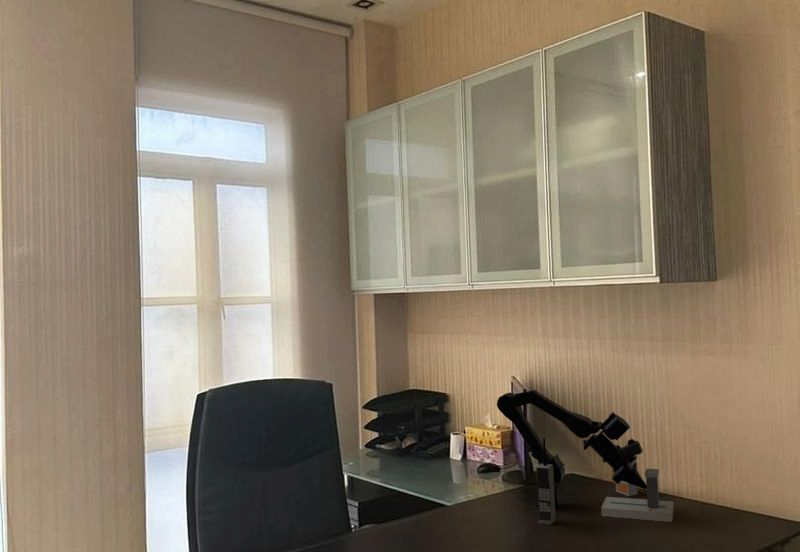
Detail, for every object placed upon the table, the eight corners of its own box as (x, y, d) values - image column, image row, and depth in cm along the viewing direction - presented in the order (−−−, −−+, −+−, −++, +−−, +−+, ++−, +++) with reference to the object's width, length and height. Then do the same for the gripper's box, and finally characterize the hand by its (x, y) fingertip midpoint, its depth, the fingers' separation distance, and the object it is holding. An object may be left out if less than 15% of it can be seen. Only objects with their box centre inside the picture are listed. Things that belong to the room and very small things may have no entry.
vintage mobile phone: (538, 523, 210) (534, 439, 211) (543, 518, 214) (539, 436, 215) (551, 525, 208) (547, 440, 209) (555, 520, 213) (551, 436, 213)
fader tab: (646, 507, 213) (644, 473, 213) (647, 501, 218) (646, 468, 218) (659, 508, 211) (657, 473, 212) (660, 502, 216) (658, 469, 217)
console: (601, 516, 215) (601, 507, 215) (606, 504, 226) (606, 496, 226) (672, 522, 207) (671, 513, 207) (673, 509, 218) (673, 501, 218)
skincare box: (615, 492, 239) (613, 456, 239) (625, 490, 241) (623, 454, 241) (628, 496, 234) (626, 460, 234) (638, 494, 235) (636, 458, 236)
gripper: (621, 438, 209) (663, 478, 205) (628, 426, 226) (666, 463, 222) (596, 463, 212) (636, 503, 208) (604, 450, 229) (641, 486, 225)
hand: (646, 488), depth 215 cm, fingers closed, pressing on fader tab
